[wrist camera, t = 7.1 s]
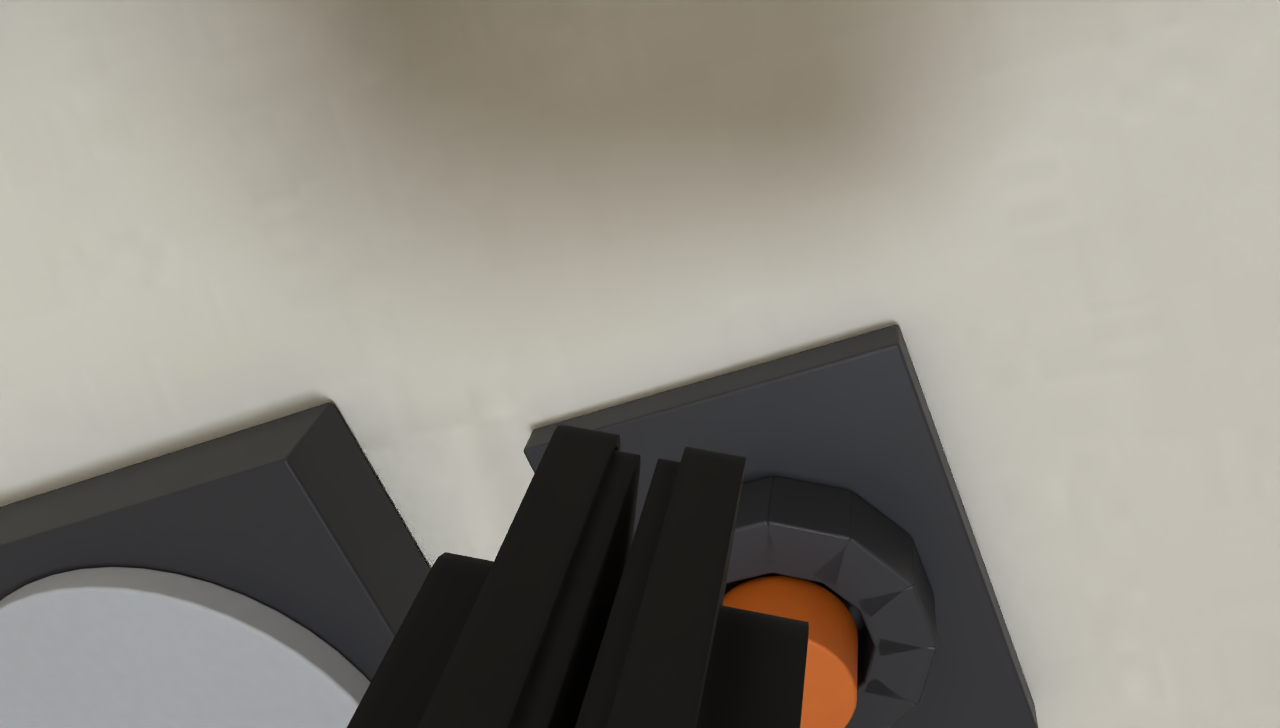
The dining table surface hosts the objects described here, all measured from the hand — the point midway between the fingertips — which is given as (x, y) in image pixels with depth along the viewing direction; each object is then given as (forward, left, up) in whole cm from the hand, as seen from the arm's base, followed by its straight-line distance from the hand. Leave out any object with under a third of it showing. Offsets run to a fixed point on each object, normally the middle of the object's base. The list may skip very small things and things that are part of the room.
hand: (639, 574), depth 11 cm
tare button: (+9, -3, -11) cm, 14 cm away
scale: (+9, -18, -13) cm, 24 cm away
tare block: (+9, -3, -13) cm, 16 cm away
